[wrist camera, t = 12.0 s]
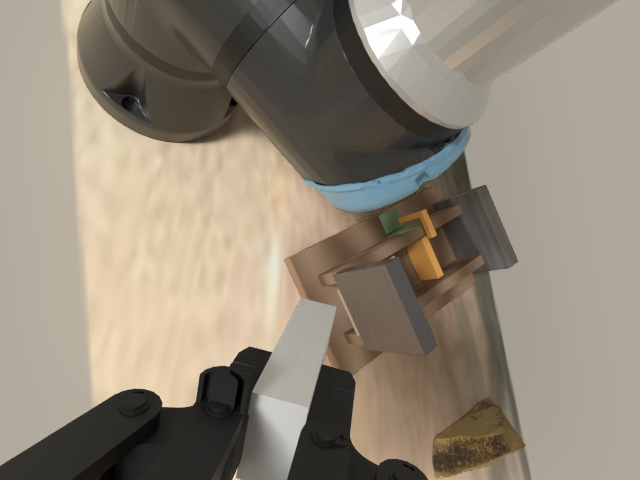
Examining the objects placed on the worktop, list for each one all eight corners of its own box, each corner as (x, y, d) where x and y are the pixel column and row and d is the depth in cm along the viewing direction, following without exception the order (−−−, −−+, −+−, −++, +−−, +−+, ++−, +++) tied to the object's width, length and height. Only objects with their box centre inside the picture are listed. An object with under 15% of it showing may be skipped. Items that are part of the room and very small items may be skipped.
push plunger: (343, 347, 44) (425, 355, 33) (312, 278, 43) (385, 264, 33) (396, 311, 48) (483, 307, 38) (368, 248, 47) (448, 227, 37)
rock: (500, 379, 54) (453, 383, 48) (560, 434, 47) (514, 446, 41) (459, 440, 57) (410, 451, 51) (509, 498, 50) (460, 518, 45)
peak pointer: (420, 280, 50) (448, 277, 46) (393, 220, 50) (420, 211, 46) (425, 277, 51) (454, 273, 47) (399, 217, 50) (426, 208, 47)
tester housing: (337, 377, 45) (387, 388, 37) (284, 259, 44) (324, 246, 37) (468, 282, 57) (524, 276, 50) (427, 188, 56) (479, 169, 49)
